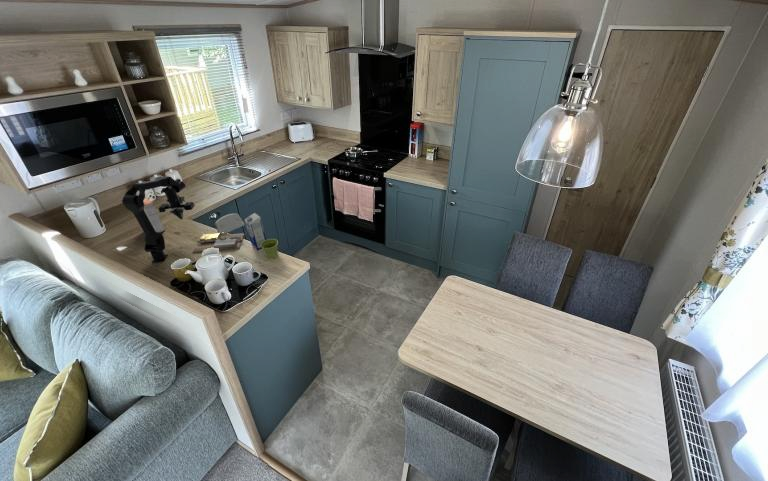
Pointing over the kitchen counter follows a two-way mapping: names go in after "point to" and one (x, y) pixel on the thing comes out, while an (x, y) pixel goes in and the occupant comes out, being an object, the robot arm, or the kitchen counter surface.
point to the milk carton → (255, 230)
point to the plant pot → (270, 248)
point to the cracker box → (153, 215)
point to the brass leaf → (210, 236)
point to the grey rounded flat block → (228, 223)
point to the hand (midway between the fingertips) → (181, 219)
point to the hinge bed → (211, 244)
